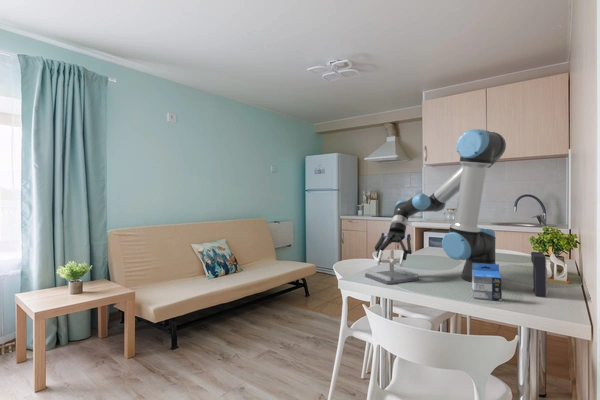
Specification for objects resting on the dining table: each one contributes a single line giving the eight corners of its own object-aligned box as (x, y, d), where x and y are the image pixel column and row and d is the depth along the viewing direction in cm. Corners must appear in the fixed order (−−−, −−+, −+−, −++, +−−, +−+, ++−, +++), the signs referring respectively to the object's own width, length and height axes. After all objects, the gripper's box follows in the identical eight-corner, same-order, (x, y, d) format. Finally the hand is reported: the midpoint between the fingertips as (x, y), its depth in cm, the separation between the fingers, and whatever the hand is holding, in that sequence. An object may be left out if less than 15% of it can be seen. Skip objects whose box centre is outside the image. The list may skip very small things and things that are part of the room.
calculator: (548, 297, 118) (547, 256, 118) (533, 296, 120) (533, 255, 120) (545, 290, 127) (544, 252, 127) (531, 289, 129) (531, 251, 130)
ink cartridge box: (473, 298, 117) (473, 264, 118) (472, 295, 121) (471, 262, 121) (502, 301, 114) (501, 266, 114) (499, 298, 118) (499, 264, 118)
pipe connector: (400, 269, 154) (400, 248, 154) (405, 274, 144) (405, 251, 144) (379, 269, 155) (378, 248, 155) (382, 273, 145) (382, 251, 145)
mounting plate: (419, 280, 145) (419, 273, 145) (386, 284, 138) (386, 277, 138) (395, 272, 160) (395, 266, 160) (364, 276, 153) (364, 270, 153)
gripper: (423, 232, 157) (416, 271, 143) (378, 230, 168) (367, 266, 155) (420, 222, 152) (413, 261, 139) (374, 220, 164) (363, 257, 150)
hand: (389, 264), depth 147 cm, fingers closed on pipe connector, 9 cm apart
